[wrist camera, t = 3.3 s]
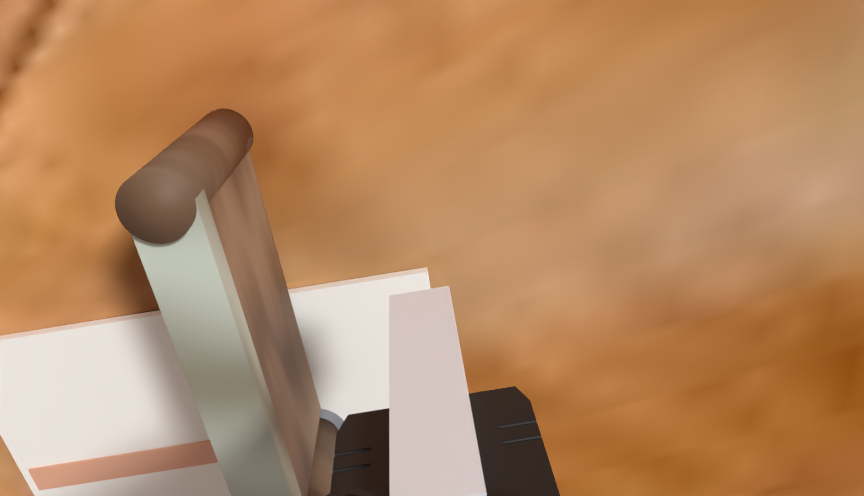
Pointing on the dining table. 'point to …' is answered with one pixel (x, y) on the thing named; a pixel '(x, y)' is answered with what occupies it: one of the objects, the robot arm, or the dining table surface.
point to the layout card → (171, 392)
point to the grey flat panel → (226, 303)
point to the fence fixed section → (323, 459)
